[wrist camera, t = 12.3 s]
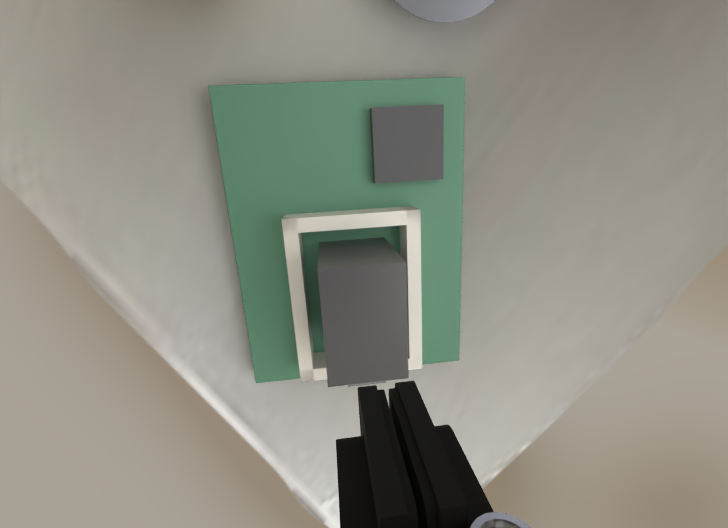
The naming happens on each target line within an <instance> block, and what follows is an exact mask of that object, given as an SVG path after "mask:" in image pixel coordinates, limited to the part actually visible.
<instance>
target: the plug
mask: <svg viewBox="0 0 728 528" xmlns="http://www.w3.org/2000/svg"><path fill="white" fill-rule="evenodd" d="M317 270H318V281H319V292H320V303H321V314H322V325H323V336H324V347H325V358H326V369H327V380H328V387H333V386H342V385H348V387H349V386H358V385H367V384H376V383H385V382H386V381H387V380H396V379H405V378H408V326H407V272H406V261H405V260H404V259H403V258H402V257H401V256H400V255H399V253H398V252H397V251H396V250H395V249H394V248H393V247H392V246H391V244H390V243H389V242H388V241H387V240H386V239H385V238H384V237H381V238H368V239H354V240H340V241H326V242H319V253H318V268H317Z"/></svg>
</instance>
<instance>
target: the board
mask: <svg viewBox="0 0 728 528" xmlns="http://www.w3.org/2000/svg"><path fill="white" fill-rule="evenodd" d="M208 88H209V94H210V100H211V106H212V113H213V119H214V125H215V131H216V138H217V144H218V150H219V156H220V162H221V169H222V175H223V181H224V187H225V194H226V200H227V206H228V212H229V218H230V225H231V231H232V237H233V243H234V250H235V256H236V262H237V268H238V274H239V281H240V287H241V293H242V299H243V306H244V312H245V318H246V324H247V331H248V337H249V343H250V349H251V355H252V362H253V368H254V374H255V380H256V383H261V382H270V381H279V380H288V379H297V378H300V379H301V382H308V381H316V380H325V379H327V369H326V358H325V347H324V336H323V325H322V314H321V303H320V292H319V281H318V270H317V268H318V253H319V242H326V241H340V240H354V239H368V238H381V237H384V238H385V239H386V240H387V241H388V242H389V243H390V244H391V246H392V247H393V248H394V249H395V250H396V251H397V252H398V253H399V255H400V256H401V257H402V258H403V259H404V260H405V261H406V272H407V326H408V370H413V369H422V364H431V363H439V362H448V361H457V360H459V346H460V298H461V250H462V202H463V155H464V107H465V77H449V78H420V79H391V80H362V81H333V82H304V83H275V84H246V85H217V86H208Z"/></svg>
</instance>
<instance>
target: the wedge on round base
mask: <svg viewBox="0 0 728 528" xmlns="http://www.w3.org/2000/svg"><path fill="white" fill-rule="evenodd" d="M395 1H396V2H397V3H398V4H399V5H400V6H401V7H403V8H404V9H405V10H406V11H408V12H410V13H412V14H413V15H415V16H417V17H420V18H422V19H425V20H428V21H433V22H442V23H449V22H457V21H461V20H465V19H468V18H470V17H472V16H474V15H476V14H478V13H480V12H481V11H483V10H484V9H486V8H487V7H488V6H489V5H490V4H492V3H493V2H494V1H495V0H395Z"/></svg>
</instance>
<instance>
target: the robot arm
mask: <svg viewBox="0 0 728 528" xmlns="http://www.w3.org/2000/svg"><path fill="white" fill-rule="evenodd" d="M358 400H359V415H360V429H361V436H359V437H352V438H344V439H337V440H336V449H337V469H338V488H339V508H340V528H531V527H530V526H529V525H527V524H526V523H524V522H523V521H521V520H520V519H518V518H516V517H514V516H512V515H509V514H507V513H500V512H493V510H492V508H491V506H490V504H489V502H488V500H487V498H486V496H485V494H484V492H483V490H482V488H481V486H480V484H479V482H478V480H477V478H476V476H475V474H474V472H473V470H472V468H471V466H470V464H469V462H468V460H467V458H466V456H465V454H464V452H463V450H462V448H461V446H460V444H459V442H458V440H457V438H456V436H455V434H454V432H453V430H452V429H451V427H450V426H449V425H442V426H435V427H434V425H433V423H432V420H431V418H430V416H429V414H428V411H427V409H426V407H425V404H424V402H423V400H422V398H421V395H420V393H419V391H418V388H417V386H416V384H415V382H414V381H408V382H399V383H395V388H393V389H389V406H388V402H387V399H386V395H385V392H384V390H377V387H376V385H374V386H366V387H358Z"/></svg>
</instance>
